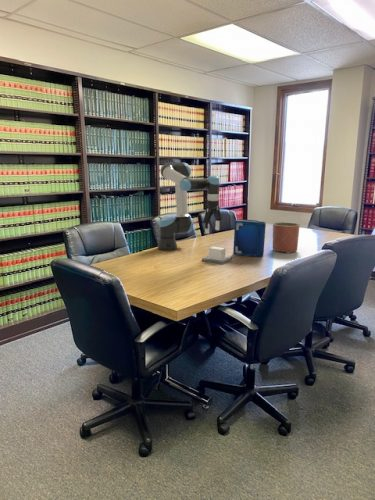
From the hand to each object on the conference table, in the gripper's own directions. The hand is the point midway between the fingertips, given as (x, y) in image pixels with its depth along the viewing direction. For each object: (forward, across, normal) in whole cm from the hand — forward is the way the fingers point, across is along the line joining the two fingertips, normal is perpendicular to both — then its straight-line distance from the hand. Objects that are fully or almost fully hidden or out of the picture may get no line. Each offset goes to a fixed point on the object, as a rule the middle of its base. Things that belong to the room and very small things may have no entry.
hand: (212, 231), depth 249 cm
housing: (+17, -4, -6) cm, 18 cm away
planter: (+19, +50, -34) cm, 63 cm away
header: (+18, -4, -6) cm, 20 cm away
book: (+19, +22, -18) cm, 34 cm away
